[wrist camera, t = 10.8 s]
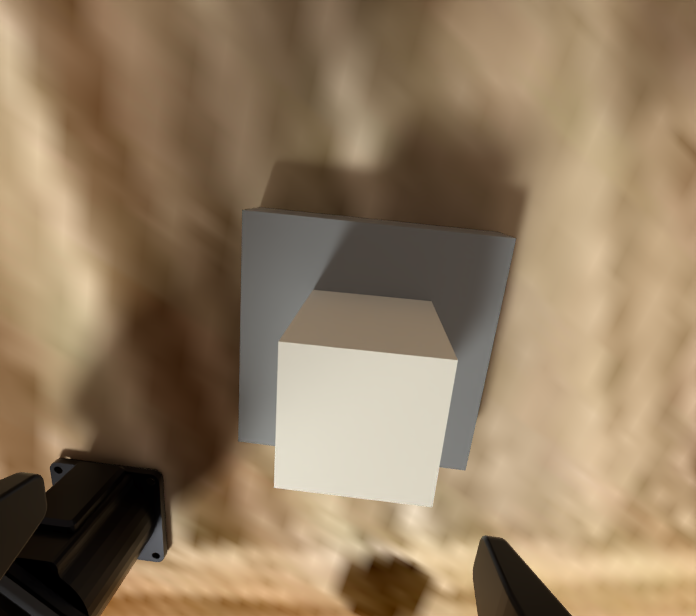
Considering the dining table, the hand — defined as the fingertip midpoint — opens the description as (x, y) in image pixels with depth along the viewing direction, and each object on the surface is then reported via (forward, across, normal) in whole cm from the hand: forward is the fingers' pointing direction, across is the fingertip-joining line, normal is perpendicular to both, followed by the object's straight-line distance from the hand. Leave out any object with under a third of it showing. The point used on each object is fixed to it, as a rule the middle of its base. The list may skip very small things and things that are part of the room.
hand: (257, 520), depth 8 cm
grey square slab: (+13, -2, 0) cm, 13 cm away
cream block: (+10, -2, 0) cm, 10 cm away
